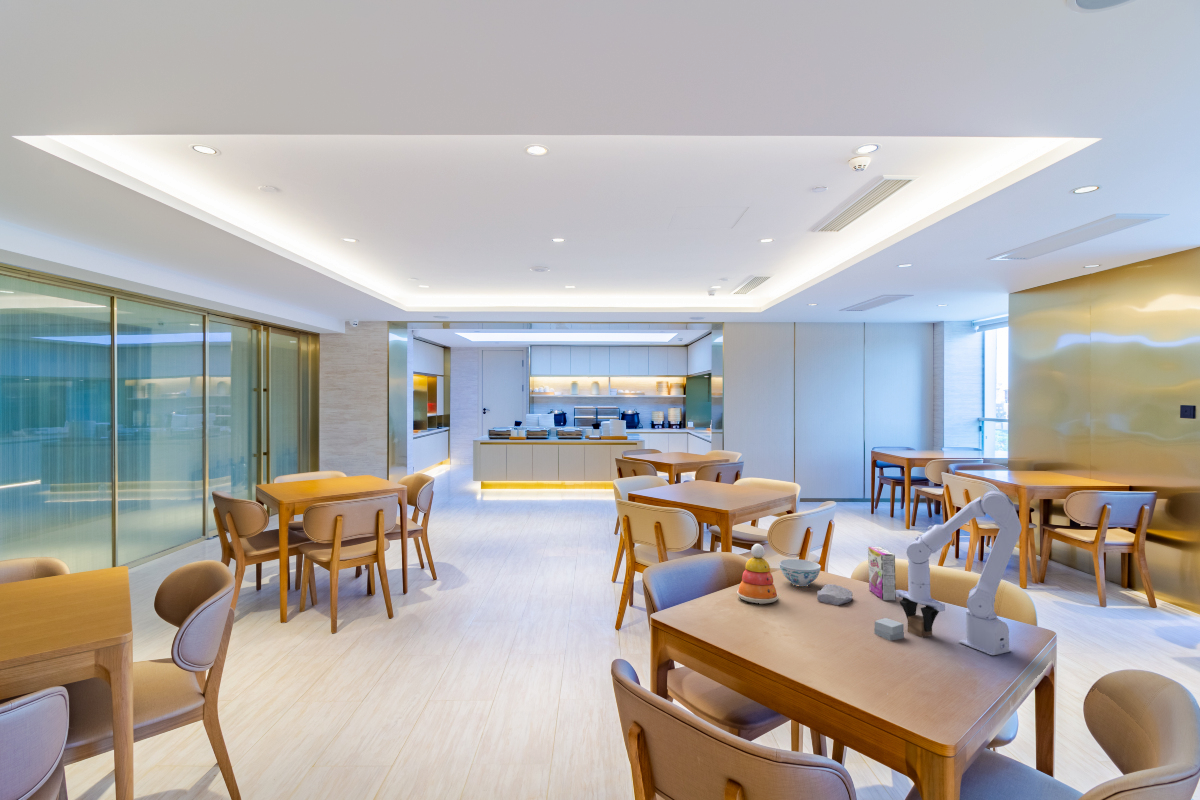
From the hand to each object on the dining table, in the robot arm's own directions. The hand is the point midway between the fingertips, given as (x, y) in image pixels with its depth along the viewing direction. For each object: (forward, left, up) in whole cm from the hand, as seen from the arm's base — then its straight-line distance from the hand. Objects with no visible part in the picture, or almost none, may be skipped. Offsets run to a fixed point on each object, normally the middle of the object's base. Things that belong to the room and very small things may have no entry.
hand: (919, 627), depth 164 cm
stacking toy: (+43, +26, -2) cm, 50 cm away
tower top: (+2, +10, 0) cm, 10 cm away
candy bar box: (+30, -18, -2) cm, 35 cm away
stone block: (+32, +1, -2) cm, 32 cm away
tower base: (+2, +10, -2) cm, 10 cm away
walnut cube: (0, 0, -2) cm, 2 cm away
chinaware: (+51, 0, -2) cm, 51 cm away
